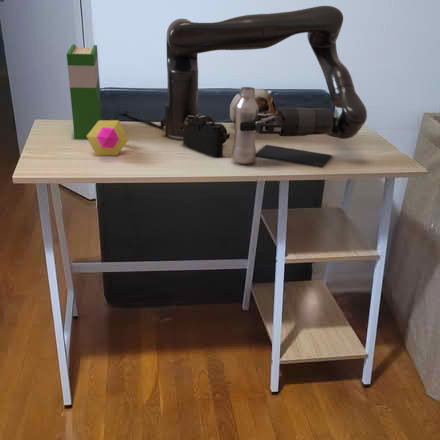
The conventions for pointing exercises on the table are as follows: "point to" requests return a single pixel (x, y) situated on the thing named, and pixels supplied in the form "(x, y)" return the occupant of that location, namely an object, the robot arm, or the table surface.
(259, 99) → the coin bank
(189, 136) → the film camera
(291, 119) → the robot arm
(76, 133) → the hardback book
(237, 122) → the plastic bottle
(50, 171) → the table surface
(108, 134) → the toy
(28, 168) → the table surface
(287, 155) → the mat
